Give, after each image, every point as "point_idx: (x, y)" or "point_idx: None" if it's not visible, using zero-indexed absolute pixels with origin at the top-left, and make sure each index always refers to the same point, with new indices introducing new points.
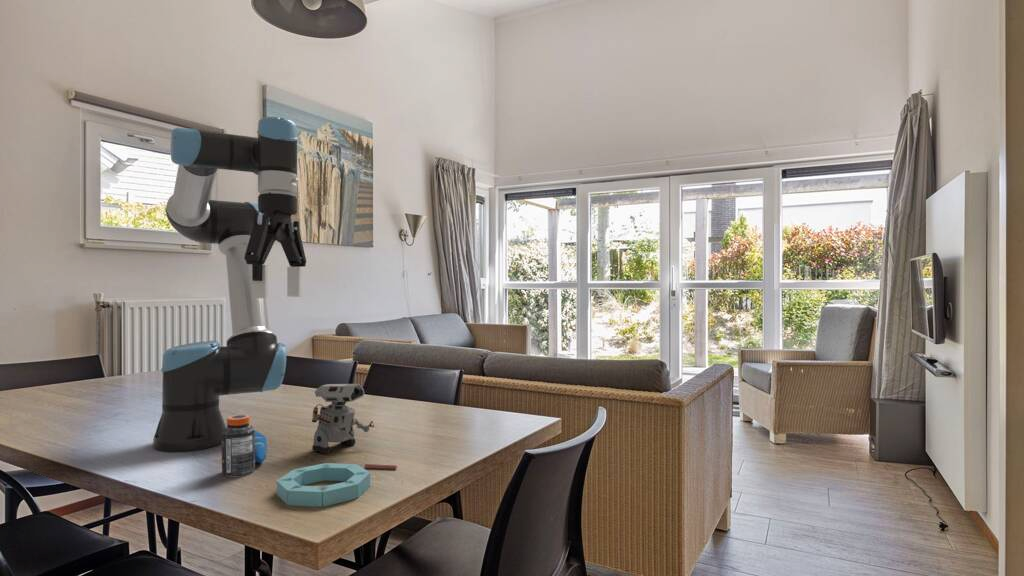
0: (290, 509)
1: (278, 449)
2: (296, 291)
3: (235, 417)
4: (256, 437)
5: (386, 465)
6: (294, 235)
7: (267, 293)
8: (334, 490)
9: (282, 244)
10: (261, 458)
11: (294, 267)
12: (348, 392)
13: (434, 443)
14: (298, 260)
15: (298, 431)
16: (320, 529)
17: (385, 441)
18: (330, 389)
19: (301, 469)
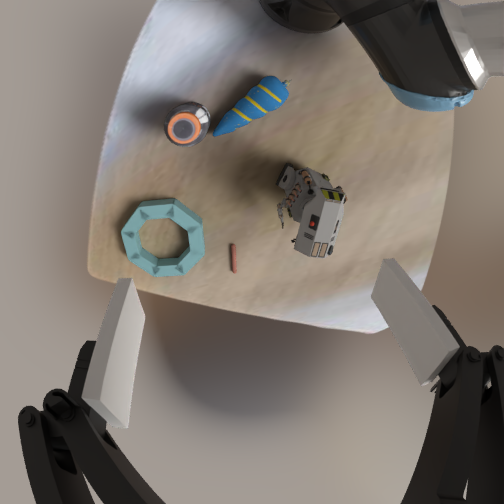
0: (118, 231)
1: (292, 114)
2: (381, 301)
3: (176, 129)
4: (258, 105)
5: (233, 265)
6: (475, 499)
7: (142, 329)
8: (137, 265)
9: (433, 485)
10: (215, 135)
11: (430, 371)
12: (300, 247)
13: (322, 275)
14: (434, 407)
15: (375, 106)
16: (100, 269)
17: None
18: (313, 218)
19: (174, 211)
